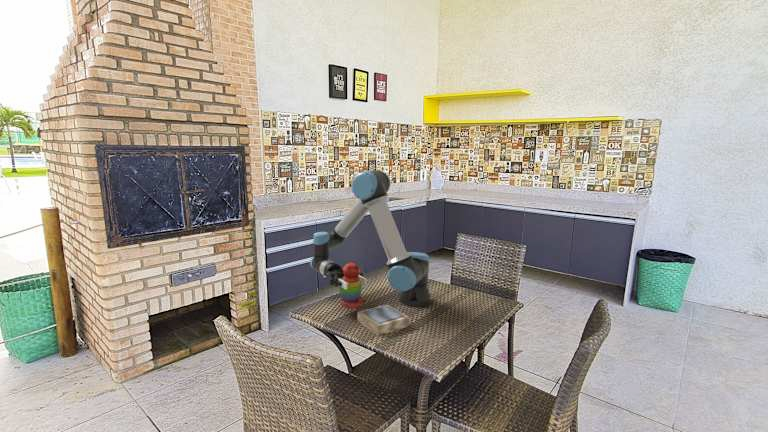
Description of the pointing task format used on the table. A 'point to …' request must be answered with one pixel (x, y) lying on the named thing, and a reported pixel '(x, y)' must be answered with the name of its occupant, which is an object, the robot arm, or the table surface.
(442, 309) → the table surface
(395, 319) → the plinth
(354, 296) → the stacking bear
